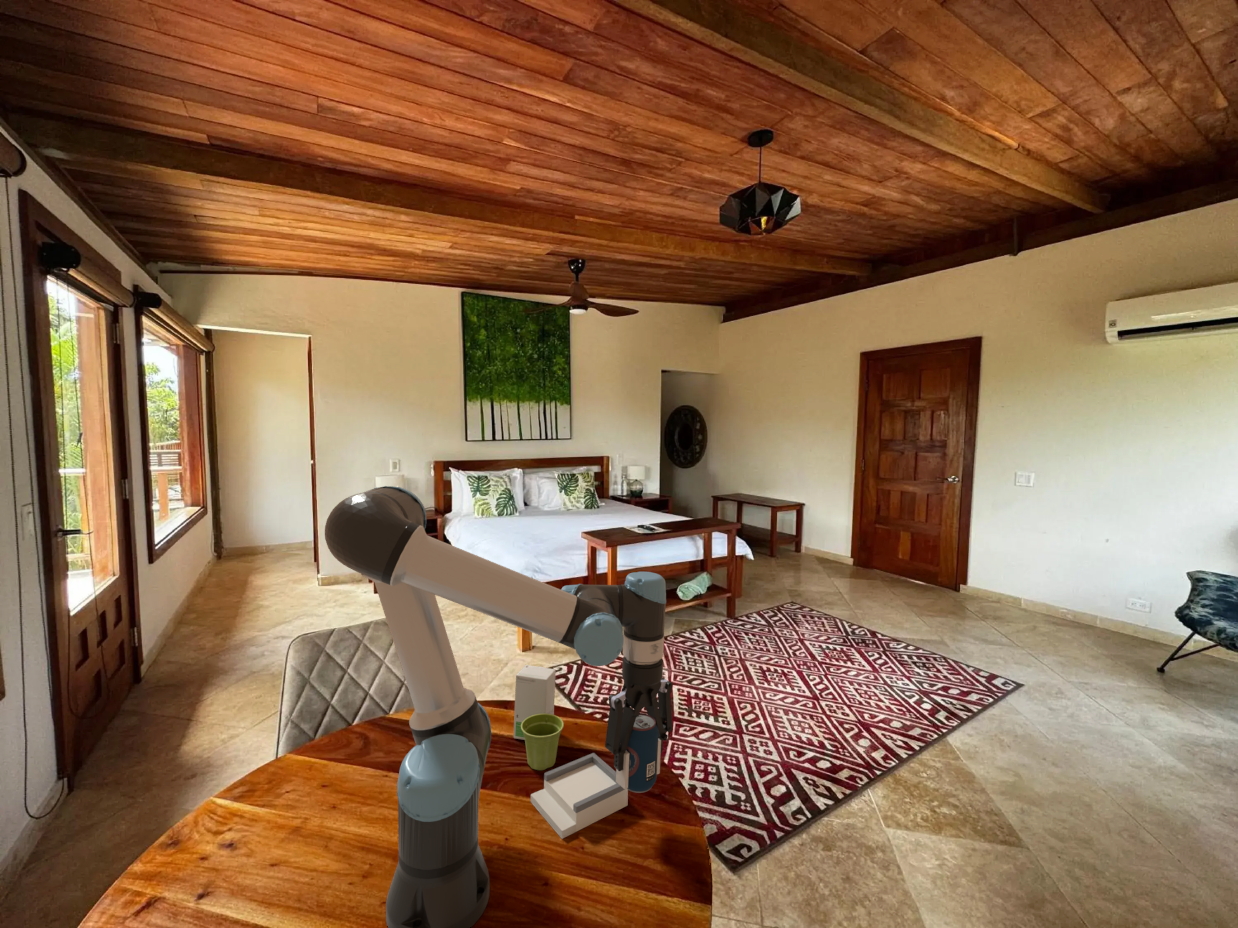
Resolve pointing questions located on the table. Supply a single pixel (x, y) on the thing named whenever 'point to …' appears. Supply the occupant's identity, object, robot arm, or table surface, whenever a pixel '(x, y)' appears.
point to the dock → (579, 795)
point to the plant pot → (541, 739)
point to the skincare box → (533, 694)
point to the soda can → (643, 754)
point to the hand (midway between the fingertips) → (638, 776)
